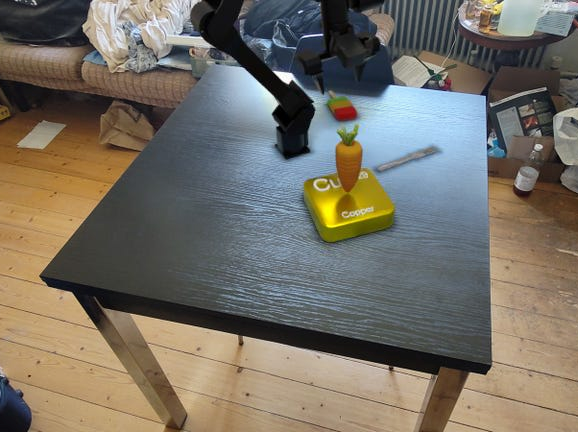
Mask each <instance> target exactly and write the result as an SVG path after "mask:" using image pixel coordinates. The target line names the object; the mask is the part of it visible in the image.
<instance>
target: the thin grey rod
mask: <svg viewBox="0 0 578 432" xmlns="http://www.w3.org/2000/svg"><path fill="white" fill-rule="evenodd" d="M438 151H439V150H438V149H437V148H436V147H434V146H431V147H428V148H426V149H421V150H419V151H416V152H414V153H412V154H411V155H408V156H405V157H403V158H400V159H397V160H394V161H392V162H389V163H386V164H383V165H380V166H377V167H376V170H377V171H378V173H381V172H383V171H386V170H388V169H392V168H395V167H397V166H400V165H402V164H405V163H408V162H410V161H413V160H418V159H421V158H424V157H427V156H429V155H432V154H435V153H437V152H438Z"/></svg>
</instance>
